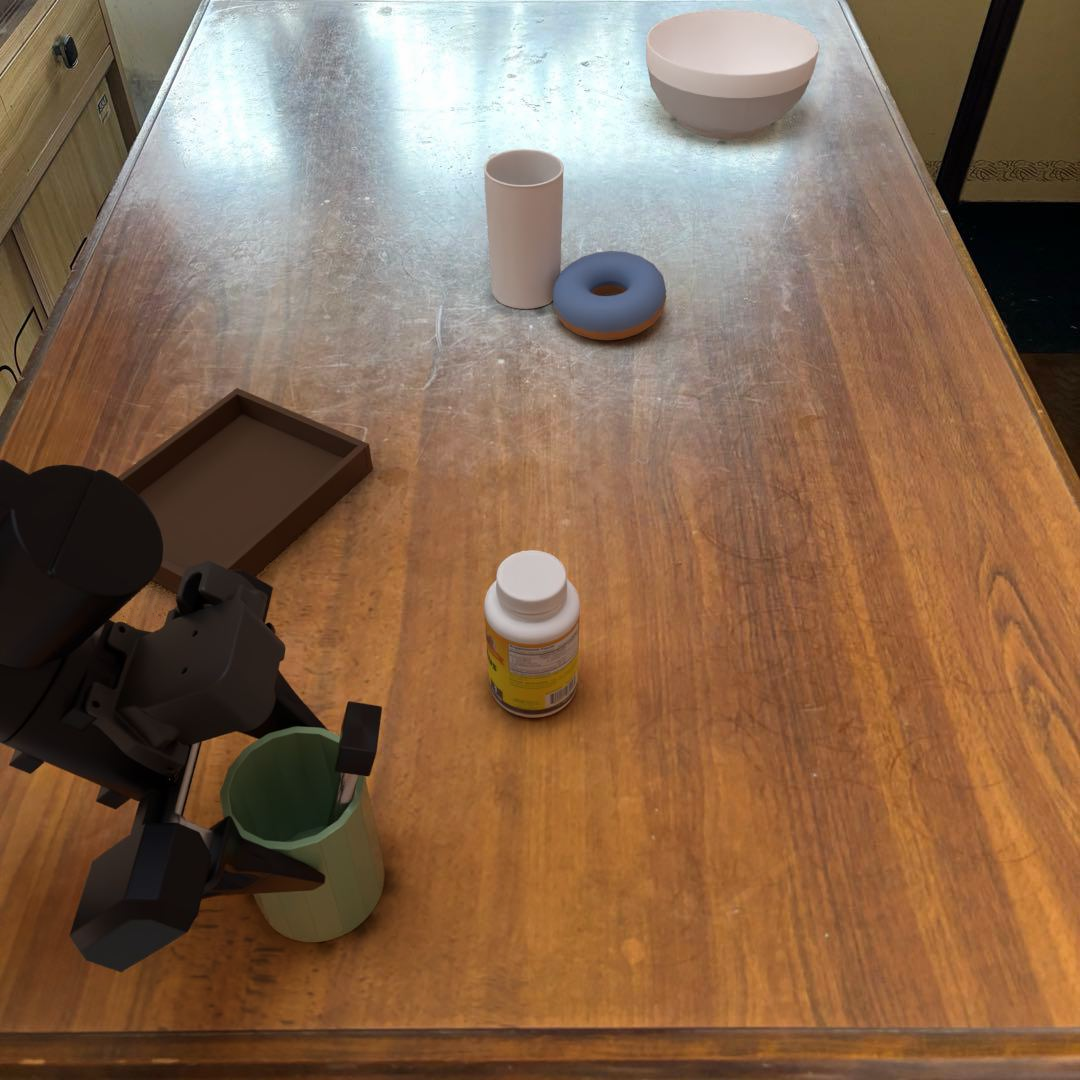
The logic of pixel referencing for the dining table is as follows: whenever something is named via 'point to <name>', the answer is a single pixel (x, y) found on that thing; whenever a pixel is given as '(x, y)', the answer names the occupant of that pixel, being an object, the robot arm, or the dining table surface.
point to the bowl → (729, 69)
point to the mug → (524, 225)
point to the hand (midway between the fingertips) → (330, 817)
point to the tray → (243, 484)
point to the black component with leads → (354, 752)
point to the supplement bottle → (532, 635)
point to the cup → (307, 831)
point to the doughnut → (609, 314)
